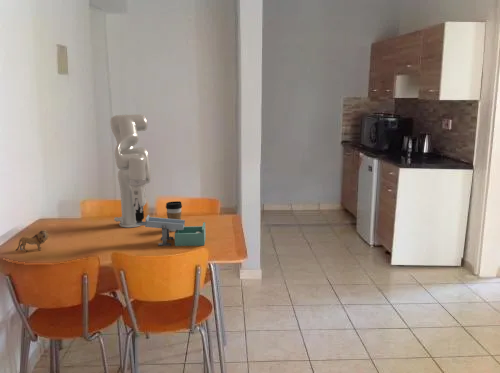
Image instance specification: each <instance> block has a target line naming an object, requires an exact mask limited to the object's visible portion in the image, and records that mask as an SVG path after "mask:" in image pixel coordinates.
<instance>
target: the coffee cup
mask: <svg viewBox="0 0 500 373" xmlns="http://www.w3.org/2000/svg"><path fill="white" fill-rule="evenodd" d="M182 208H183V204H182V201H179V200H178V201H169V202H166V204H165V209H166V215H167V216H166V218H167V219H179V220H182ZM175 231H176V230H174V229H169V232H175Z"/></svg>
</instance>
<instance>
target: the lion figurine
mask: <svg viewBox="0 0 500 373" xmlns="http://www.w3.org/2000/svg"><path fill="white" fill-rule="evenodd" d="M48 239H49V232H48V230H46V229H42V230H40V232H38V233H36V234H34V236H25V235H24V236H22V237H20V238H19V241H18V245H17V248H16V249H15V251H18V250H21V251H24V252H25V253H26V251H27V252H28V250H27V249H26V245H27V244H29V245H32V246H34V245H36V246H37V249H38V251H39V252H41V251H42V247H41V245H42V244H45V242H46V241H47V240H48Z"/></svg>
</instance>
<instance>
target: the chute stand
mask: <svg viewBox="0 0 500 373" xmlns="http://www.w3.org/2000/svg"><path fill="white" fill-rule="evenodd" d="M168 240H169V241H172V240H173V241H174V240H175V236H170V231H169V229H166V226H162V228H161V237H160V241H162V242H158V243H157V246H158V247H171V246H172V242H168Z"/></svg>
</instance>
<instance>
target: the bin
mask: <svg viewBox="0 0 500 373" xmlns="http://www.w3.org/2000/svg"><path fill="white" fill-rule="evenodd" d="M196 232H201V233H196ZM206 232H207V231H206V222H203V223H202V225H198V226H195V225H194V226H191V225H190V226H188V225H187V226H185V225H184V229H183V230H176V231H174V235H173V236H174V246H175V247H189V246H190V247H194V246H195V247H197V246H198V247H199V246H201V247H202V246H205V244H206V239H207V238H206V235H207V234H206Z"/></svg>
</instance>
